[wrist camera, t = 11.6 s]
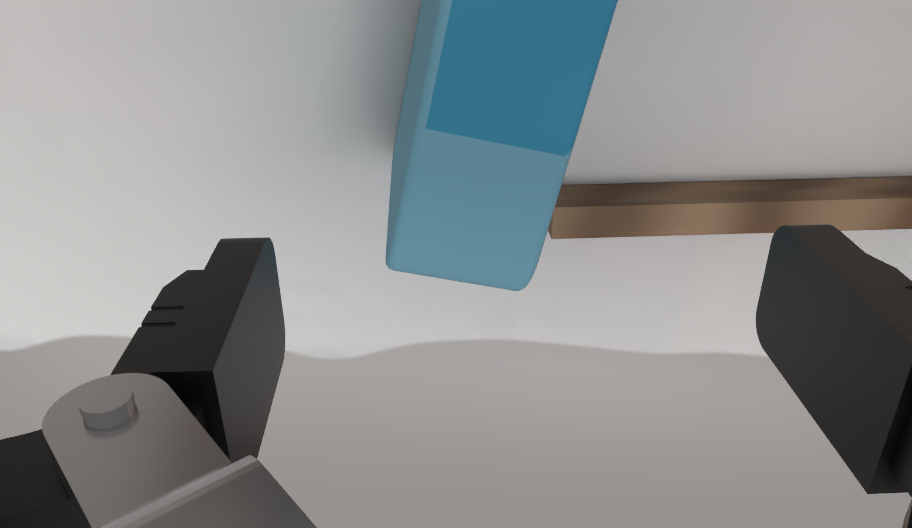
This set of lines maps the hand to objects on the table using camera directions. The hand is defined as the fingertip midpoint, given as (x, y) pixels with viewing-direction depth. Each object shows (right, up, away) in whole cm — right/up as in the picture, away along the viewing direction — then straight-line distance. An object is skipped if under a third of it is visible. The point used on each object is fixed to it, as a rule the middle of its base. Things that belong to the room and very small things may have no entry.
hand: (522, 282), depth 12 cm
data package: (0, +10, +19) cm, 22 cm away
